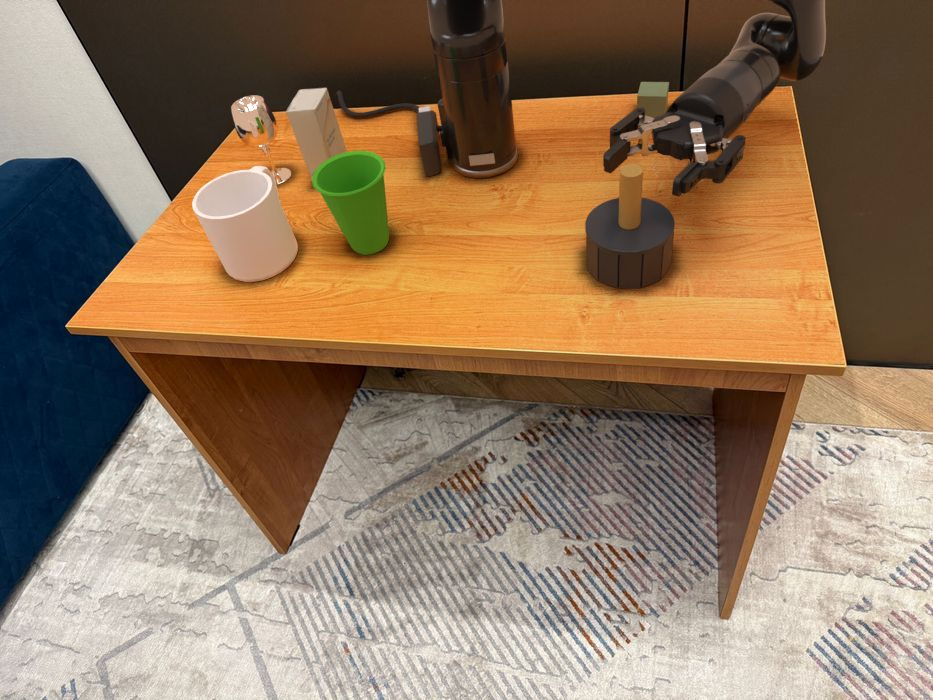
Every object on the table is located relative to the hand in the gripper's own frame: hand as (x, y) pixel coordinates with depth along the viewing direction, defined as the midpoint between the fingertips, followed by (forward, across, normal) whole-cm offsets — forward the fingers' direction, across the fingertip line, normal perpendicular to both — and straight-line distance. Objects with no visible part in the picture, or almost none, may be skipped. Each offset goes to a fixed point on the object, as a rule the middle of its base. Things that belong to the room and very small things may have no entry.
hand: (640, 177), depth 75 cm
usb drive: (-2, -38, +8) cm, 39 cm away
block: (-27, -14, +11) cm, 33 cm away
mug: (+25, -41, +11) cm, 50 cm away
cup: (+16, -30, +11) cm, 36 cm away
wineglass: (+13, -54, +11) cm, 57 cm away
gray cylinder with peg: (+2, 0, +11) cm, 11 cm away
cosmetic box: (+8, -47, +11) cm, 49 cm away
